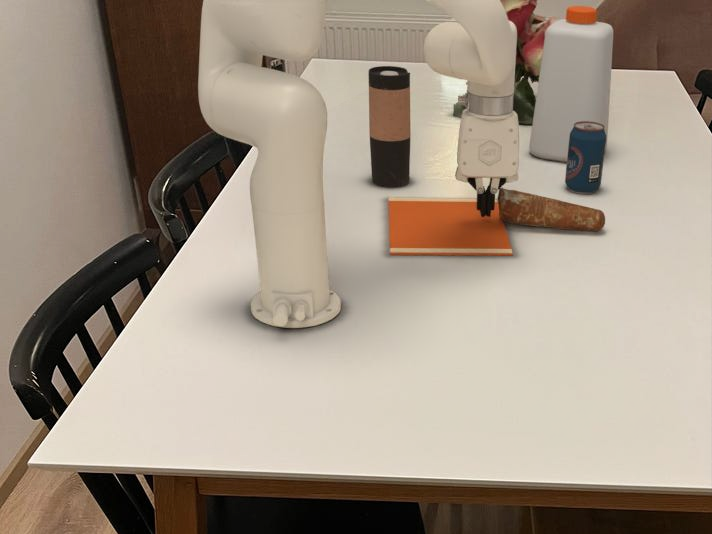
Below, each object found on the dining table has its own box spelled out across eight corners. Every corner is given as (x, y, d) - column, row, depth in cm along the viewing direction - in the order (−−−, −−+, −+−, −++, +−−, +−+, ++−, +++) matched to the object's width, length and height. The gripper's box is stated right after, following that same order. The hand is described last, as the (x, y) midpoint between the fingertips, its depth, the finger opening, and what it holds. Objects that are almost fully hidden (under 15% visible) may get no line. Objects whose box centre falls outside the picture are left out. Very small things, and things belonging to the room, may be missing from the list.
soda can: (557, 185, 181) (563, 122, 174) (587, 181, 183) (594, 118, 176) (576, 197, 176) (583, 132, 169) (607, 192, 178) (615, 128, 171)
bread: (497, 214, 165) (500, 183, 162) (603, 227, 164) (608, 195, 161) (493, 226, 160) (495, 194, 157) (602, 239, 159) (607, 208, 155)
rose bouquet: (572, 129, 213) (586, -17, 195) (447, 118, 216) (450, -27, 198) (579, 102, 234) (593, -33, 216) (466, 92, 237) (470, -42, 219)
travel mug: (362, 182, 177) (359, 71, 165) (384, 172, 182) (382, 63, 171) (397, 190, 174) (395, 77, 162) (417, 179, 180) (418, 69, 168)
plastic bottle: (523, 157, 194) (534, 10, 178) (543, 139, 206) (555, -2, 189) (594, 168, 190) (611, 18, 174) (609, 148, 202) (627, 6, 186)
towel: (512, 255, 151) (512, 253, 151) (390, 254, 149) (390, 252, 149) (496, 200, 172) (496, 198, 172) (388, 199, 170) (388, 197, 170)
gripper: (445, 109, 146) (443, 222, 157) (539, 110, 148) (530, 222, 158) (442, 96, 152) (440, 206, 163) (532, 98, 154) (524, 206, 164)
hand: (485, 213), depth 161 cm, fingers closed
